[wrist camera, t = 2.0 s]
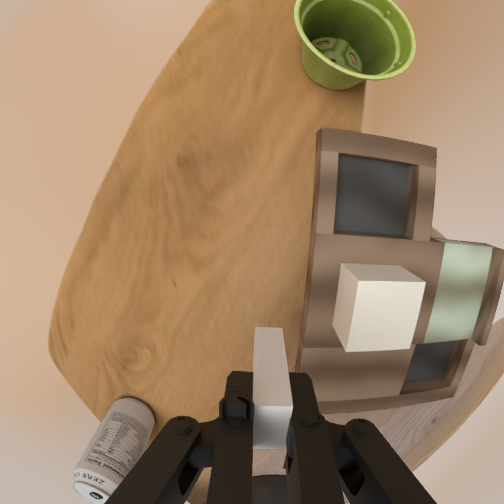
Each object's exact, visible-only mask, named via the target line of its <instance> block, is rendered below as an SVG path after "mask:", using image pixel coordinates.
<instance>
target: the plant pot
mask: <svg viewBox="0 0 504 504" xmlns="http://www.w3.org/2000/svg"><path fill="white" fill-rule="evenodd" d="M294 20H295V25H296V28H297V31H298V33H299V35H300V37H301V39H302V52H301V61H302V66H303V68H304V71H305V72H306V74H307V75H308V76H309V78H310V79H311V80H313V81H314V82H316V83H318V84H319V85H321V86H323V87H325V88H327V89H331V90H345V89H348V88H351V87H353V86H355V85H357V84H359V83H361V82H364V81H366V80H384V79H388V78H392V77H394V76H396V75H399V74H400V73H402V72H403V71H405V70H406V69H407V68H408V67H409V65H410V64H411V62H412V60H413V58H414V55H415V49H416V42H415V36H414V32H413V29H412V27H411V25H410V23H409V21H408V20H407V18H406V16H405V15H404V13H403V12H402V11H401V9H400V8H399V7H398V6H397V5H396V4H395V3H394V2H392V0H297V1H296V4H295V8H294ZM321 41H328V42H329V44H321V45H317V43H318V42H321ZM350 53H351V54H353V55H354V57H355V59H356V65H355V64H354V63H353V60H352V58H351V56H350ZM331 59H334V60H335V61H336V62H335V63H333V62H332V61H331Z"/></svg>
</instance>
